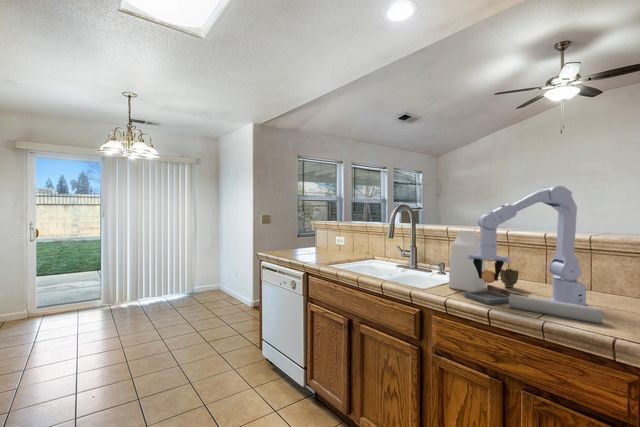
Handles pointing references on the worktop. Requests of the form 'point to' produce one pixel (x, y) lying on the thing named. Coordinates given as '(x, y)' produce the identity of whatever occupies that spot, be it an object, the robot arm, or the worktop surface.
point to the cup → (509, 277)
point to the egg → (488, 276)
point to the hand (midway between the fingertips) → (488, 279)
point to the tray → (488, 297)
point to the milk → (465, 263)
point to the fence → (503, 291)
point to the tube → (556, 308)
